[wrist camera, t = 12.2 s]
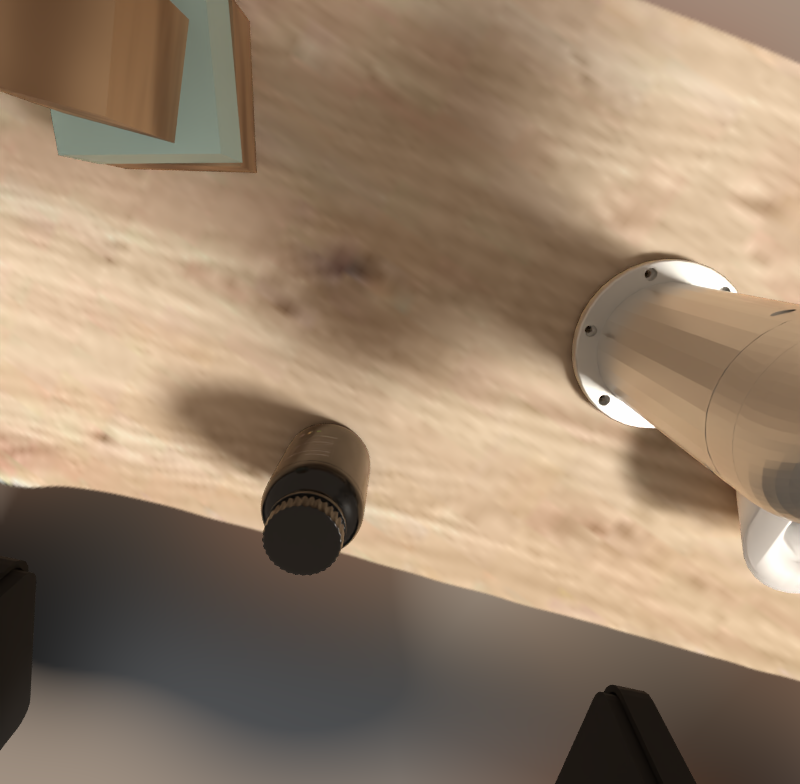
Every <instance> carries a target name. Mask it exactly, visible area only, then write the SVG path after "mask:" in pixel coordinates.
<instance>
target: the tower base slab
mask: <svg viewBox="0 0 800 784" xmlns="http://www.w3.org/2000/svg"><path fill="white" fill-rule="evenodd" d="M228 3H229V14H230V26H231V37H232V48H233V60H234V71H235V83H236V94H237V106H238V117H239V128H240V140H241V151H242V163H147V164H107V165H112V166H116V167H121V168H125V169H152V170H184V171H217V172H249V173H257V170H256V149H255V128H254V106H253V85H252V63H251V42H250V21H249V20H248V18H247V17H246V16H245V14H244V13H243V12H242V10H241V9H240V7H239V6H238V5H237V3H236V2H235V1H234V0H228Z"/></svg>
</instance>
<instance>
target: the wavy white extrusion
mask: <svg viewBox="0 0 800 784" xmlns="http://www.w3.org/2000/svg"><path fill="white" fill-rule="evenodd" d="M736 498H737V506H738V514H739V523H740V531H741V539H742V547H743V555H744V559H745V561H746V564H747V566H748V568H749V570H750V571H751V572H752V574H753V575H754V577H756V578H757V579H758V580H759V581H760V582H762V583H763V584H764V585H766V586H768V587H770V588H773V589H775V590H778V591H782V592H787V593H800V523H796V522H792V521H789V520H786V519H783V518H780V517H778V516H776V515H774V514H772V513H770V512H768V511H766V510H764V509H762V508H761V507H759V506H757V505H756V504H754V503H753V502H751V501H750V500H748V499H747V498H746V497H744V496H743V495H742V494H741V493H739V492H738V491H737V490H736Z"/></svg>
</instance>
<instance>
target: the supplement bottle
mask: <svg viewBox="0 0 800 784" xmlns="http://www.w3.org/2000/svg"><path fill="white" fill-rule="evenodd" d="M369 474H370V458H369V453H368V450H367V448H366V446H365V444H364V443H363V441H362V440H361V439H360V438H359V437H358V436H357V435H356V434H355V433H354V432H352V431H351V430H349V429H348V428H346V427H343V426H340V425H337V424H330V423H323V424H317V425H313V426H310V427H308V428H306V429H304V430H303V431H301V432H300V433H299V434H297V436H296V437H295V438H294V439H293V440H292V441H291V443H290V445H289V446H288V448H287V450H286V451H285V453H284V455H283V457H282V459H281V460H280V462H279V464H278V466H277V468H276V470H275V471H274V473H273V475H272V477H271V479H270V480H269V482H268V484H267V486H266V488H265V491H264V493H263V496H262V501H261V515H262V520H263V523H264V525H265V528H264V530H263V539H262V541H263V543H264V545H263V547H264V549H265V550H266V554H267V555H268V556H269V558H270V560H271V561H273V562H274V564H275V565H276V566H279V567H280V569H282V570H285V571H286V572H288V573H293V574H295V575H298V574H300V575H312V574H314V573H316V574H317V573H319V572H320V571H324V570H325V569H326V568H328V567H330V566H331V565H332V563H333V562H335V561H336V559H337V557H338V556H339V555H340V551H341V549H342V548H344V547H345V546H347V545H348V544H349V543H350V542H351V541H352V540H353V539H354V537H355V536H356V535H357V533H358V531H359V529H360V527H361V524H362V521H363V516H364V510H365V503H366V496H367V488H368V481H369Z"/></svg>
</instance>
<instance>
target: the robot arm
mask: <svg viewBox="0 0 800 784" xmlns="http://www.w3.org/2000/svg"><path fill="white" fill-rule="evenodd" d="M646 270H648V275H647V276H646V277H645V272H646ZM587 326H589V327H590V330H589V331H588V332H585V328H586V327H587ZM572 363H573V368H574V373H575V377H576V379H577V381H578V384H579V386H580V388H581V390H582V391H583V393H584V394H585V396H586V397H587V398H588V400H589V401H590V402H591V403H592V404H593V405H594V406H595V407H596V408H597V409H598V410H599V411H601V412H602V413H604V414H605V415H606V416H608V417H609V418H611V419H613V420H615V421H617V422H620V423H622V424H624V425H629V426H633V427H637V428H656V429H658V430H659V431H660V432H662V433H663V434H664V435H665V436H667V437H668V438H669V439H671V440H672V441H673V442H674V443H676V444H677V445H678V446H679V447H681V448H682V449H683V450H685V451H686V452H687V453H688V454H690V455H691V456H692V457H694V458H695V459H696V460H697V461H699V462H700V463H701V464H703V465H704V466H705V467H706V468H708V469H709V470H710V471H712V472H713V473H714V474H715V475H717V476H718V477H719V478H721V479H722V480H723V481H724V482H726V483H727V484H728V485H730V486H731V487H733V488H734V489H735V490H737V491H738V492H739V493H741V494H742V495H743V496H744V497H746V498H747V499H748V500H750V501H751V502H753V503H754V504H756V505H757V506H759V507H761V508H762V509H764V510H766V511H768V512H770V513H772V514H774V515H776V516H778V517H780V518H783V519H786V520H789V521H792V522H796V523H800V305H799V304H793V303H788V302H782V301H777V300H772V299H766V298H761V297H755V296H750V295H745V294H739V293H738V291H737V290H736V288H735V287H734V286H733V285H732V284H731V283H730V282H729V281H728V280H727V279H726V278H725V277H724V276H723V275H722V274H720V273H718V272H717V271H715V270H714V269H712V268H711V267H708V266H705V265H703V264H700V263H697V262H693V261H687V260H679V259H660V260H654V261H647V262H644V263H642V264H639V265H636V266H633V267H630V268H629V269H627V270H625V271H623V272H621V273H619V274H618V275H616V276H615V277H613V278H612V279H611V280H610V281H608V282H607V283H606V284H605V285H603V286H602V287H601V288H600V289H599V290H598V292H597V293H596V294H595V295H594V296H593V297H592V298H591V300H590V301H589V303H588V304H587V306H586V308H585V309H584V311H583V312H582V314H581V316H580V319H579V321H578V324H577V327H576V329H575V333H574V339H573V344H572ZM602 395H603V398H602V399H600V400H599V398H600V396H602ZM35 592H36V576H35V574H34V573H30V572H28V565H27V563H26V562H25V561H22V560H18V559H13V558H8V557H3V556H0V750H1V749H2V747H3V746H4V744H5V743H6V742H7V741H8V740H9V738H10V737H11V736H12V735H13V733H14V732H15V731H16V729H17V728H18V727H19V725H20V724H21V722H22V720H23V718H24V717H25V714H26V712H27V710H28V707H29V703H30V691H31V672H32V653H33V652H32V651H33V633H34V612H35ZM555 784H696V782H695V781H694V779H693V776H692V775H691V773H690V771H689V769H688V767H687V765H686V763H685V761H684V759H683V757H682V756H681V754H680V752H679V750H678V748H677V746H676V744H675V742H674V740H673V738H672V736H671V735H670V733H669V731H668V729H667V727H666V725H665V723H664V721H663V719H662V717H661V715H660V714H659V712H658V710H657V708H656V706H655V704H654V702H653V700H652V699H651V697H650V696H649V695H648V694H647V693H646V692H644V691H640V690H635V689H630V688H625V687H621V686H616V685H610V686H608V687H607V688H606V689H605V691H604V692H598V693H597V694H596V695H595V697H594V699H593V701H592V703H591V705H590V708H589V710H588V712H587V714H586V717H585V719H584V721H583V723H582V725H581V727H580V730H579V732H578V734H577V736H576V739H575V741H574V743H573V745H572V747H571V750H570V752H569V754H568V756H567V758H566V761H565V763H564V765H563V767H562V770H561V772H560V774H559V776H558V779H557V781H556V783H555Z"/></svg>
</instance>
